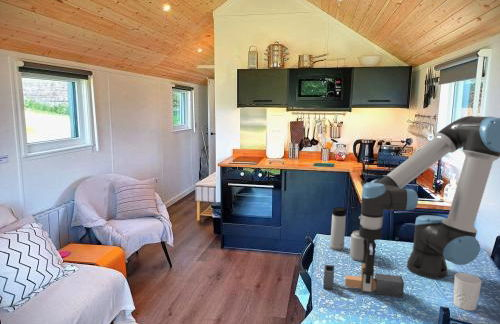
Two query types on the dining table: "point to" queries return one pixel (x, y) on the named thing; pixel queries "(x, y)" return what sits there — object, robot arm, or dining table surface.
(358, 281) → the l-shaped wooden block pair
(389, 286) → the sleeve
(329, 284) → the socket
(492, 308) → the dining table surface
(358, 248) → the can
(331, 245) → the travel mug
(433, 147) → the robot arm
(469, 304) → the white cup
